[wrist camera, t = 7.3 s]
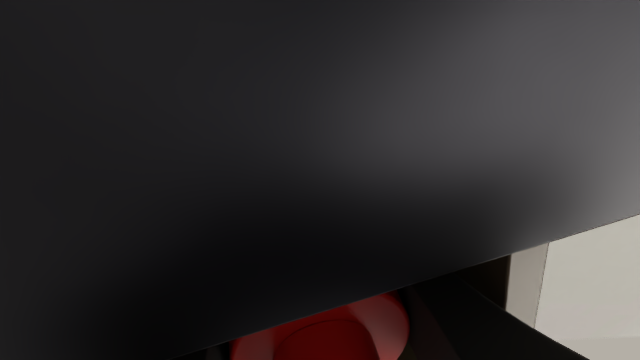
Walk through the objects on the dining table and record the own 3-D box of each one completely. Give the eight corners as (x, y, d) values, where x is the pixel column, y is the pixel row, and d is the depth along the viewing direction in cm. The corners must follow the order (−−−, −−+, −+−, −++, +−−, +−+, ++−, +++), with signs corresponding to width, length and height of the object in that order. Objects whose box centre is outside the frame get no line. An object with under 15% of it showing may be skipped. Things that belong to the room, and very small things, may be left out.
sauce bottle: (336, 289, 14) (394, 476, 9) (212, 280, 13) (213, 494, 8) (383, 190, 12) (484, 368, 8) (242, 168, 11) (264, 367, 6)
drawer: (437, 298, 20) (533, 473, 14) (219, 366, 19) (223, 578, 13) (410, -191, 9) (741, -326, 4) (-60, -77, 9) (-595, -9, 3)
